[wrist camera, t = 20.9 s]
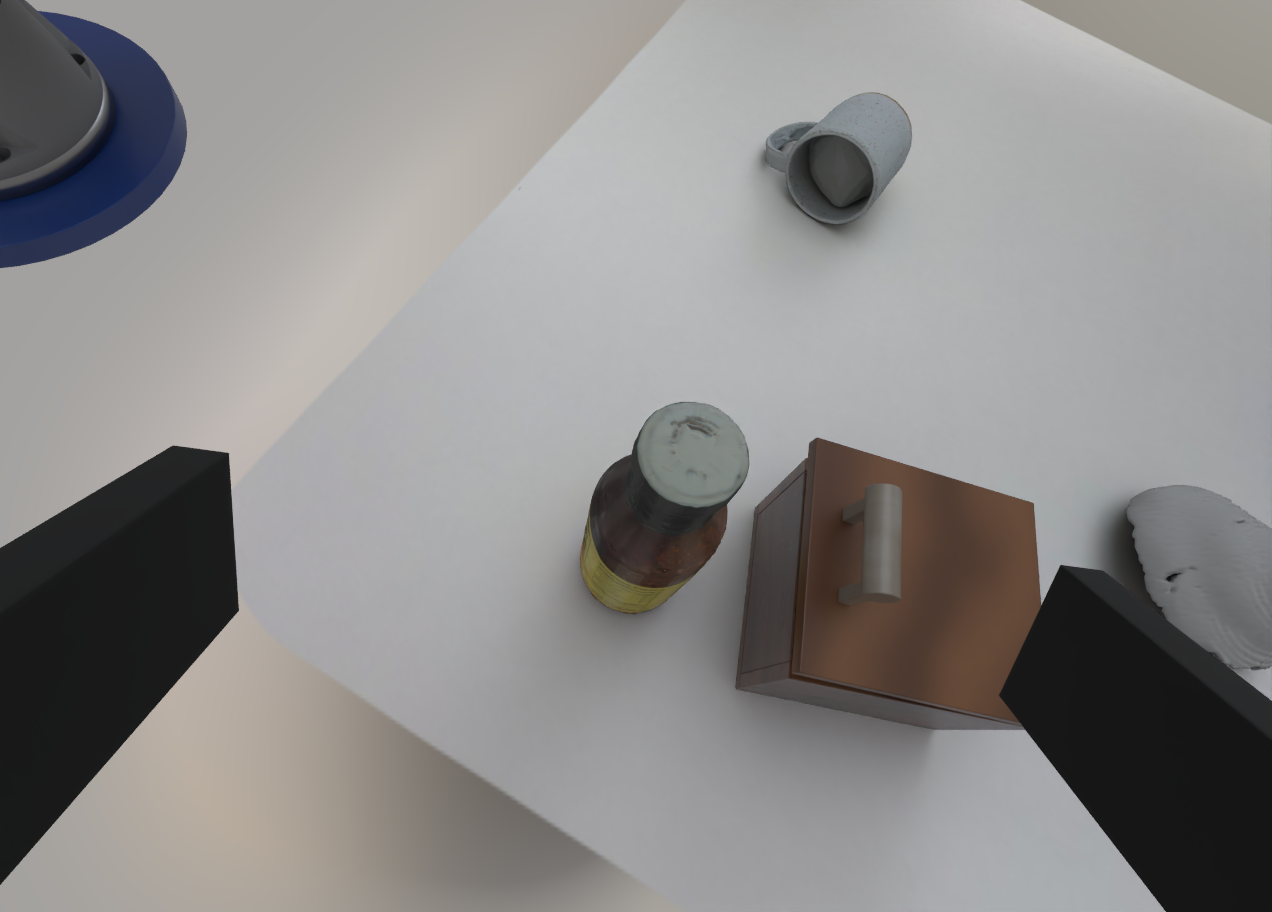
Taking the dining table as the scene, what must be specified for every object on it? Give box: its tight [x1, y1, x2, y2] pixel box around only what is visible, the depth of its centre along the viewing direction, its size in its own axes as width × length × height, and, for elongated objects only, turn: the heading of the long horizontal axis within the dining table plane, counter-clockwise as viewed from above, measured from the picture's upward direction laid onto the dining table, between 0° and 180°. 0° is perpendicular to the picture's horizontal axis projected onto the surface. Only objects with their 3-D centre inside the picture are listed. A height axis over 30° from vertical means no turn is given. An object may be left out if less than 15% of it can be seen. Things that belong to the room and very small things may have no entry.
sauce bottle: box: [580, 402, 749, 614], centre depth 32 cm, size 7×6×20 cm
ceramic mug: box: [766, 93, 912, 224], centre depth 53 cm, size 11×8×8 cm
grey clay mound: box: [1126, 485, 1272, 670], centre depth 42 cm, size 12×12×11 cm
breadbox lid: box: [792, 438, 1041, 726], centre depth 31 cm, size 13×12×4 cm
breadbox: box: [736, 458, 1025, 730], centre depth 38 cm, size 13×12×9 cm
